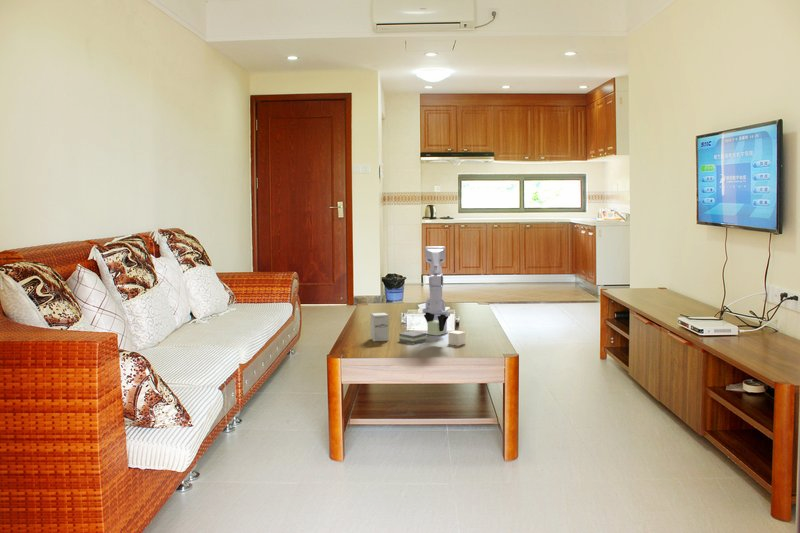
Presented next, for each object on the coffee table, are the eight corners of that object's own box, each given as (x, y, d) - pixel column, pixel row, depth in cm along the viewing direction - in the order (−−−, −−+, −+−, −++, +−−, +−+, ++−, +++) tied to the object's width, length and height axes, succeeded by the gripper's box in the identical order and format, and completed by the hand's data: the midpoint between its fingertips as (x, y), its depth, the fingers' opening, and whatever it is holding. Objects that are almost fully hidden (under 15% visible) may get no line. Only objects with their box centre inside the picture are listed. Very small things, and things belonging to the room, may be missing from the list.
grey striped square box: (412, 338, 329) (411, 330, 329) (426, 341, 323) (426, 333, 323) (399, 341, 323) (399, 333, 322) (413, 344, 316) (413, 336, 316)
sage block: (435, 331, 317) (435, 320, 317) (444, 333, 313) (444, 321, 313) (427, 333, 313) (427, 321, 312) (437, 335, 309) (437, 323, 309)
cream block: (455, 342, 320) (455, 330, 319) (465, 343, 316) (465, 332, 316) (448, 344, 316) (448, 332, 315) (458, 345, 312) (458, 333, 311)
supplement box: (373, 342, 321) (373, 315, 320) (370, 338, 329) (370, 313, 327) (389, 340, 323) (388, 314, 322) (385, 337, 330) (384, 312, 329)
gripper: (418, 300, 313) (418, 329, 315) (443, 303, 304) (443, 333, 305) (427, 298, 319) (427, 327, 320) (452, 301, 309) (452, 331, 311)
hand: (436, 330), depth 313 cm, fingers closed on sage block, 6 cm apart
